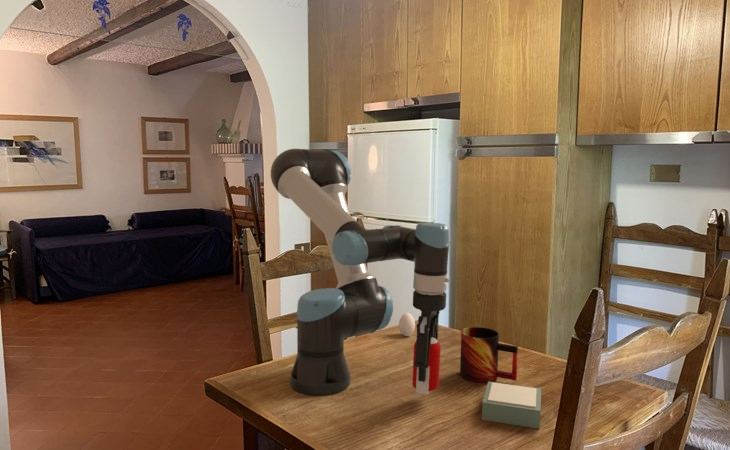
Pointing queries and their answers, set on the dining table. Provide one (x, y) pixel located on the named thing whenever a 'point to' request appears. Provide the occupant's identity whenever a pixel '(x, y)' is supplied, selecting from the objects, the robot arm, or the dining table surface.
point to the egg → (406, 324)
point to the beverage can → (433, 363)
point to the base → (512, 404)
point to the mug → (484, 356)
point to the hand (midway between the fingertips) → (425, 386)
